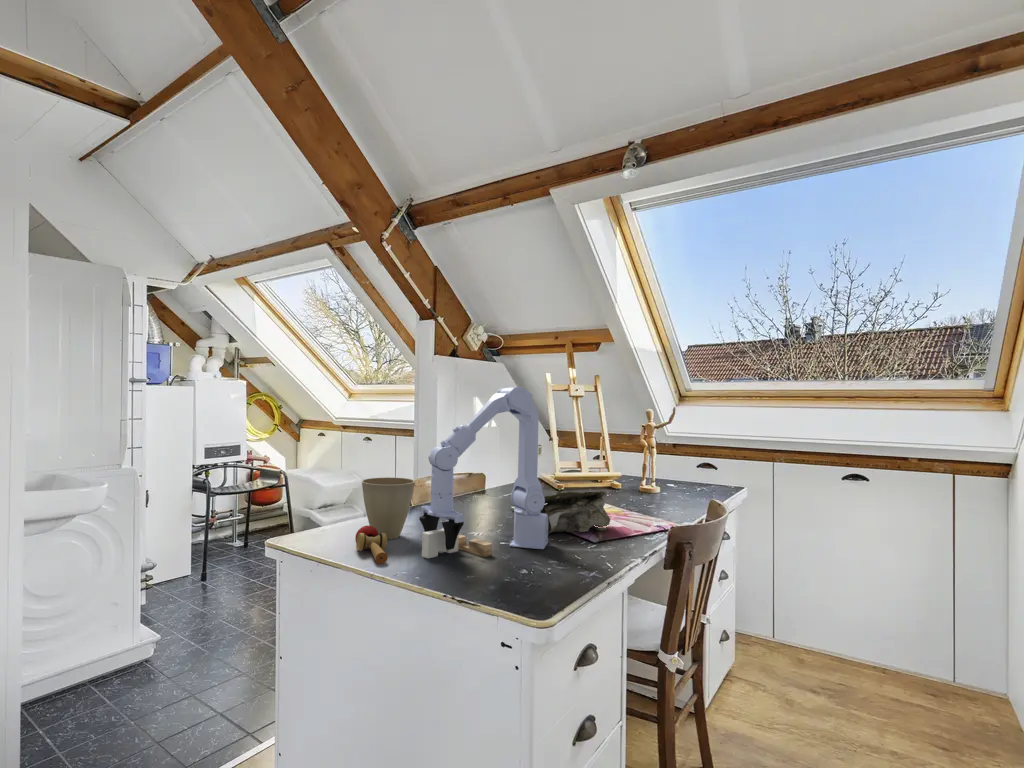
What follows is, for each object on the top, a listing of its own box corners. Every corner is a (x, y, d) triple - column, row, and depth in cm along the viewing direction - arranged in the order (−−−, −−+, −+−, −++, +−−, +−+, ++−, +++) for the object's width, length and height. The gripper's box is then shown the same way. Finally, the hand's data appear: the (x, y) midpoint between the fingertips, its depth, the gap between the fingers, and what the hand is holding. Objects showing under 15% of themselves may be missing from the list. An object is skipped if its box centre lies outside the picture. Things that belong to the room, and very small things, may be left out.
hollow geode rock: (530, 551, 163) (546, 522, 154) (517, 515, 172) (531, 485, 162) (609, 540, 175) (629, 513, 165) (594, 506, 183) (611, 478, 174)
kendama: (399, 567, 135) (380, 539, 151) (396, 543, 134) (377, 517, 150) (368, 576, 132) (351, 547, 147) (365, 552, 130) (348, 525, 146)
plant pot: (407, 544, 151) (409, 485, 151) (353, 542, 151) (355, 484, 151) (417, 530, 166) (419, 477, 166) (368, 529, 166) (370, 476, 166)
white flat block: (458, 551, 145) (458, 528, 145) (427, 558, 138) (428, 534, 138) (451, 549, 147) (452, 526, 147) (421, 556, 140) (422, 532, 140)
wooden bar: (491, 555, 142) (492, 543, 142) (484, 557, 140) (485, 545, 140) (451, 542, 153) (451, 532, 153) (444, 544, 151) (444, 533, 151)
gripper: (412, 491, 145) (410, 543, 145) (448, 499, 135) (446, 555, 135) (433, 488, 150) (432, 538, 150) (469, 495, 140) (468, 549, 140)
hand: (440, 546), depth 142 cm, fingers open, 7 cm apart
